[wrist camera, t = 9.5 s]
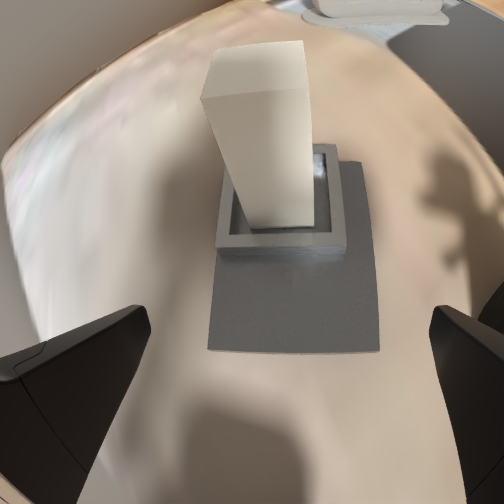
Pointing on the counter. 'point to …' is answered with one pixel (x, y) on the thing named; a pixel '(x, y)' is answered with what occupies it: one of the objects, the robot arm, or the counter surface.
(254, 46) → the cream rectangular prism
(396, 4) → the wireless router
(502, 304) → the toy
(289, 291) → the bracket plate
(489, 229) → the counter surface
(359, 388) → the counter surface
